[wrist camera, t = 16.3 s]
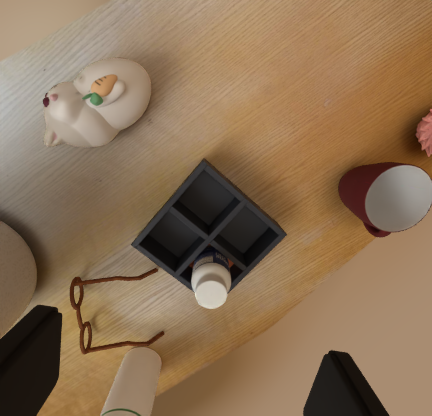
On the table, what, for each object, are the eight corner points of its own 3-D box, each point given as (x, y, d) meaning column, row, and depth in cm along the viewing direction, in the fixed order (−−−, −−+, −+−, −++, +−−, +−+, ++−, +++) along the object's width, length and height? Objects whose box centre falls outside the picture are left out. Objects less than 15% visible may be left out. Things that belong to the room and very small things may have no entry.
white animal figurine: (131, 41, 24) (6, 128, 25) (174, 111, 30) (72, 182, 30) (120, 34, 31) (23, 102, 31) (157, 92, 37) (74, 149, 37)
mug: (387, 211, 39) (444, 234, 30) (338, 231, 40) (379, 260, 30) (370, 149, 37) (427, 151, 27) (318, 171, 37) (355, 181, 28)
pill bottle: (233, 265, 40) (240, 303, 31) (204, 279, 41) (202, 320, 31) (218, 238, 39) (221, 268, 30) (188, 252, 40) (181, 286, 30)
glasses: (78, 270, 41) (61, 287, 36) (158, 267, 41) (151, 284, 36) (92, 337, 44) (77, 361, 39) (165, 334, 44) (159, 357, 39)
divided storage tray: (140, 232, 39) (130, 245, 34) (204, 157, 37) (203, 160, 32) (213, 288, 42) (214, 307, 37) (277, 223, 39) (287, 234, 34)
